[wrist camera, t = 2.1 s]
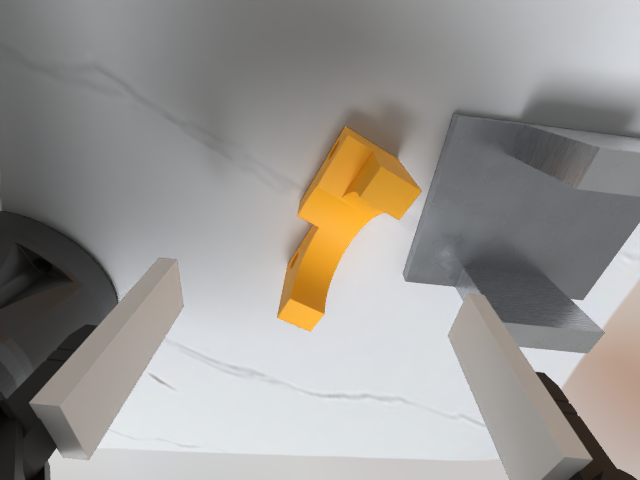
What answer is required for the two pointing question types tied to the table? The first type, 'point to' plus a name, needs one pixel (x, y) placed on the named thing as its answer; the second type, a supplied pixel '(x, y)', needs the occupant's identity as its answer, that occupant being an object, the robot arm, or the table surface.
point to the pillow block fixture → (528, 223)
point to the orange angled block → (340, 219)
